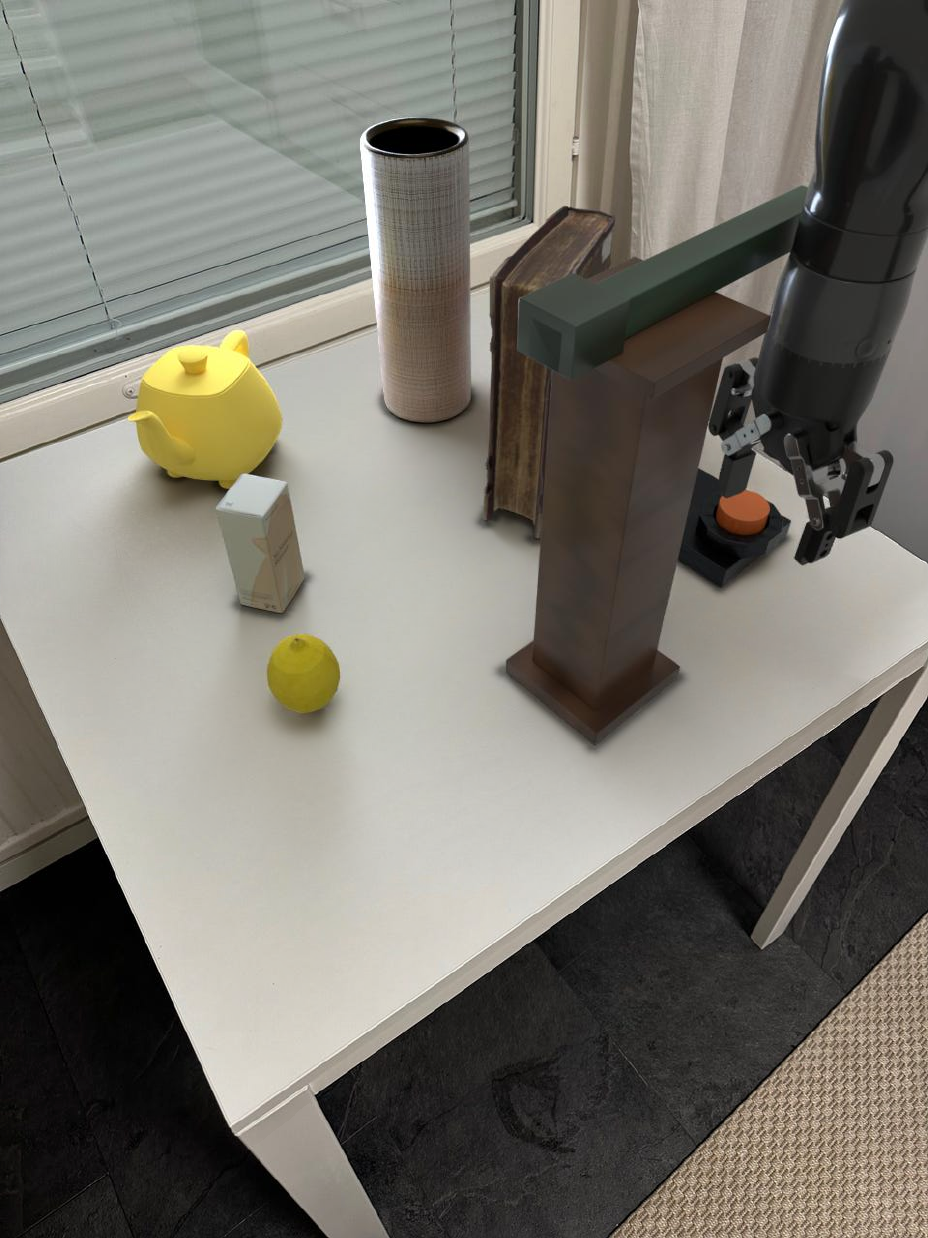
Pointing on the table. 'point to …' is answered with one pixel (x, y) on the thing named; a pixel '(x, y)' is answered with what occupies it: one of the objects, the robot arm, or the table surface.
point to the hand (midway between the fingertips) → (767, 524)
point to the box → (261, 542)
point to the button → (743, 513)
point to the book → (520, 380)
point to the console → (723, 536)
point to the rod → (650, 288)
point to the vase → (420, 263)
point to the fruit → (303, 673)
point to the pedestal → (622, 511)
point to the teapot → (207, 412)
